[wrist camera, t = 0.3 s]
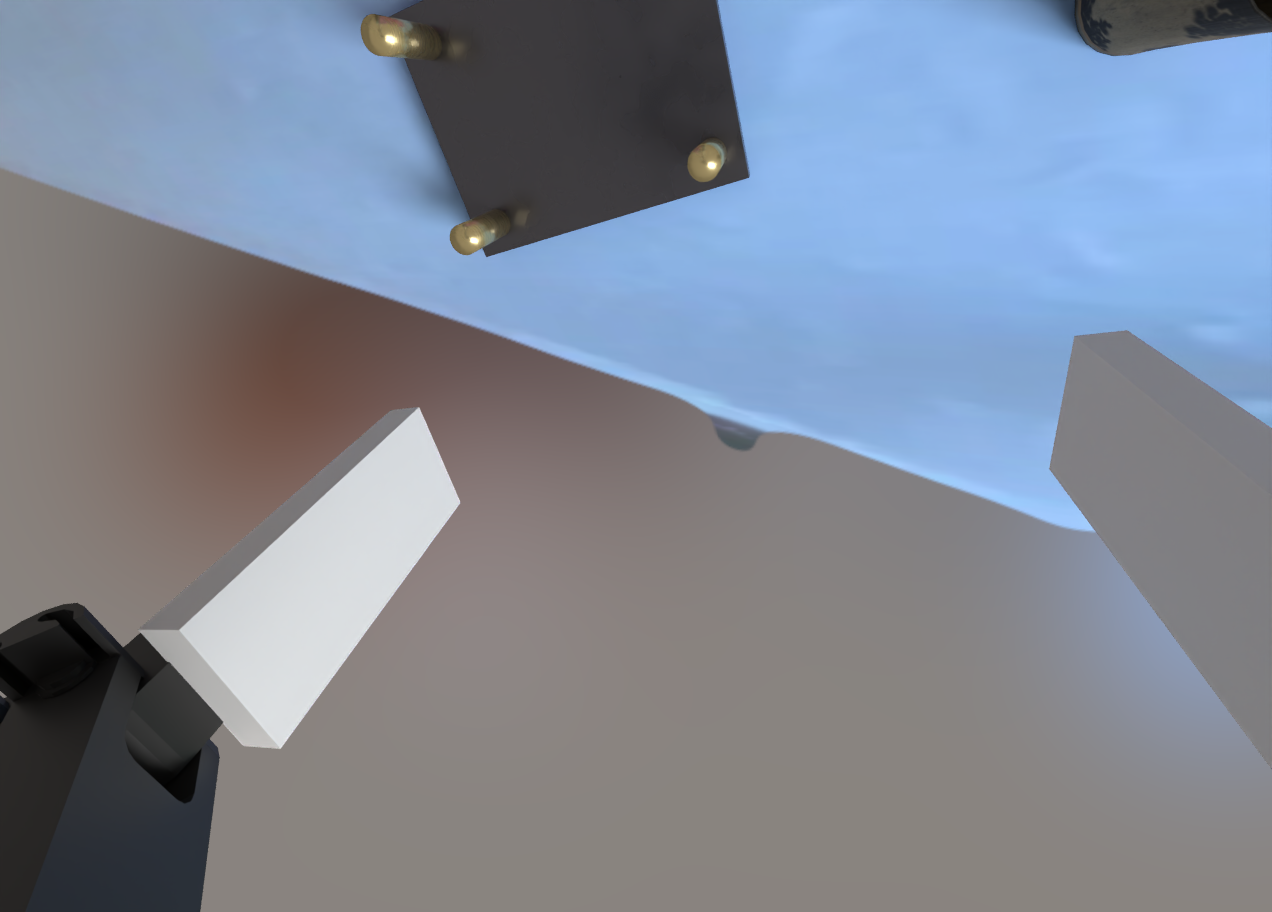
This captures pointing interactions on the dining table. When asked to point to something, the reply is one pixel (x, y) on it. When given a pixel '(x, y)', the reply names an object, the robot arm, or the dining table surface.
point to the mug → (1166, 22)
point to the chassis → (569, 107)
